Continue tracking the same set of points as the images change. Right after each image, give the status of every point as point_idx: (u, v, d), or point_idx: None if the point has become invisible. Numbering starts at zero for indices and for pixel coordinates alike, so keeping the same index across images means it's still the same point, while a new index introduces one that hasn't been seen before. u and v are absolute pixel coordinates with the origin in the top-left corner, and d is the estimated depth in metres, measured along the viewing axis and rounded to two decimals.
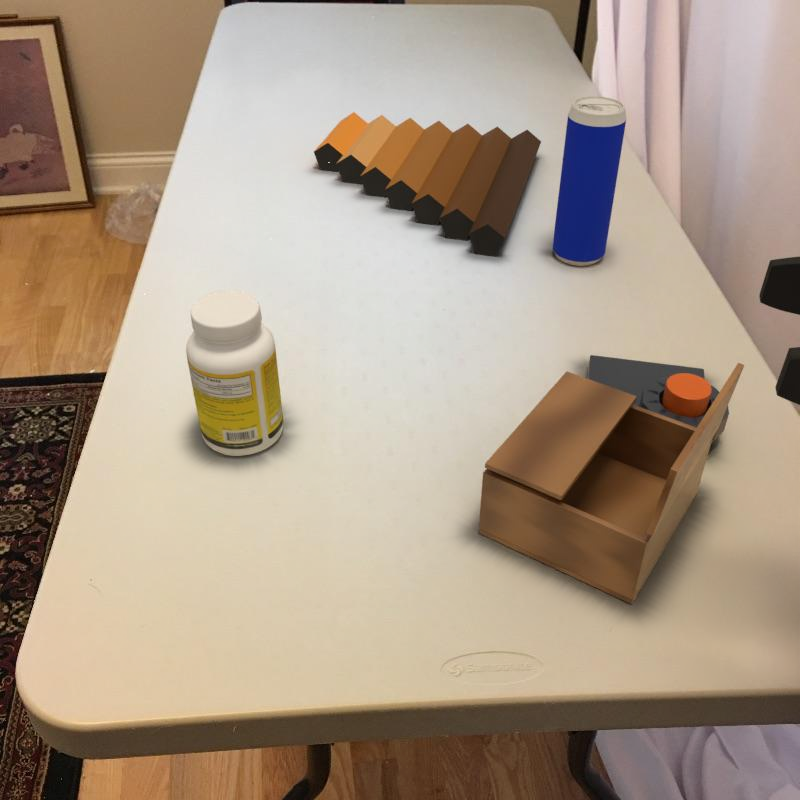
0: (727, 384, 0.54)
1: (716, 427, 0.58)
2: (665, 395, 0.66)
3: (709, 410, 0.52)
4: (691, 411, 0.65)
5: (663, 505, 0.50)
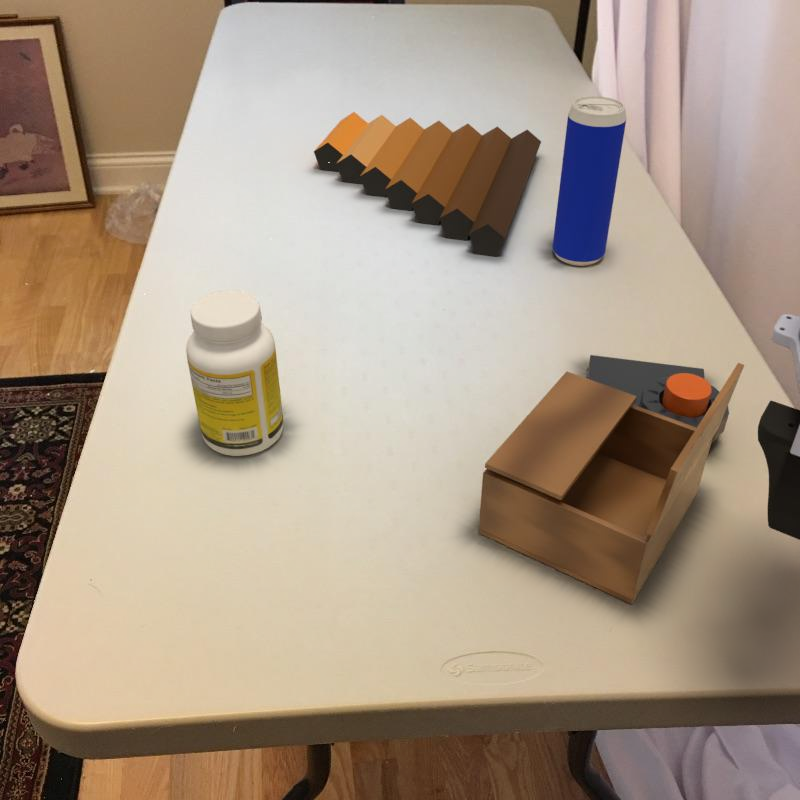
0: (727, 384, 0.54)
1: (716, 427, 0.58)
2: (665, 395, 0.66)
3: (709, 410, 0.52)
4: (691, 411, 0.65)
5: (663, 505, 0.50)
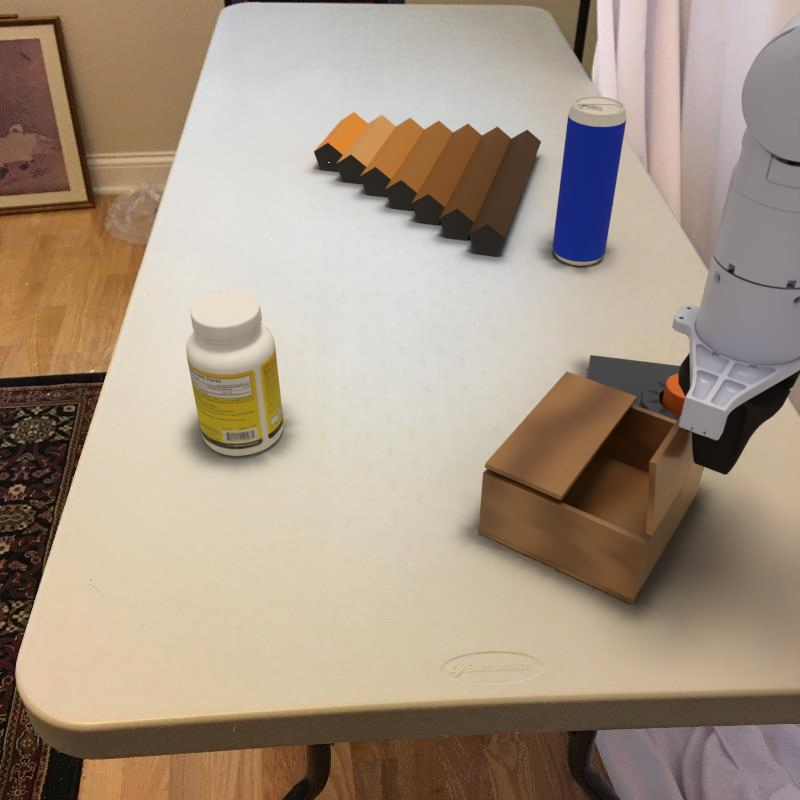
0: None
1: None
2: (665, 395, 0.66)
3: None
4: None
5: (653, 501, 0.50)
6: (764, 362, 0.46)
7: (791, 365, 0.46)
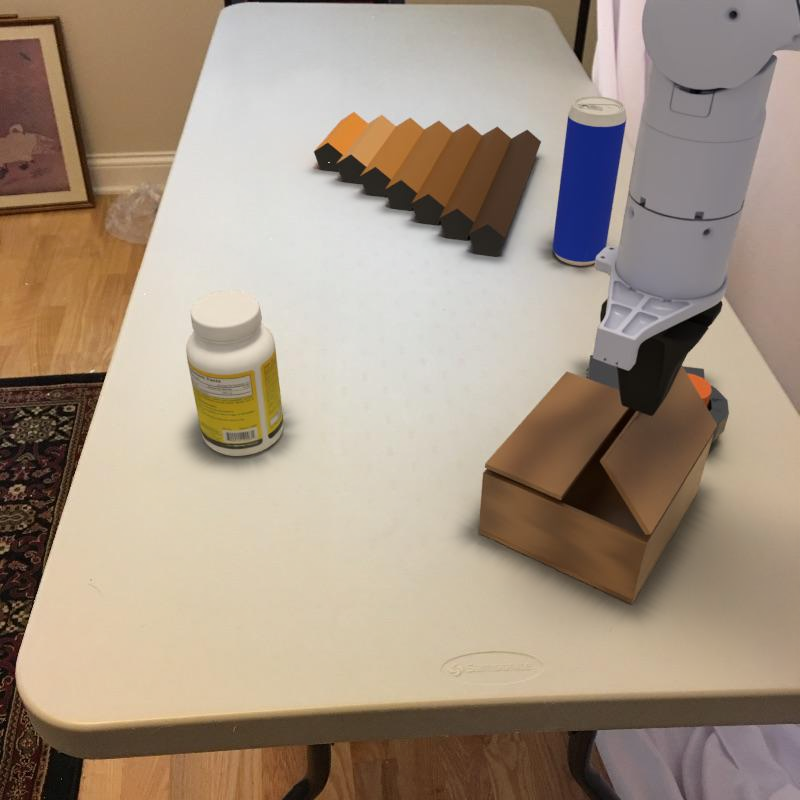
0: None
1: (702, 424, 0.58)
2: None
3: None
4: None
5: (628, 498, 0.51)
6: (678, 296, 0.46)
7: (705, 299, 0.47)
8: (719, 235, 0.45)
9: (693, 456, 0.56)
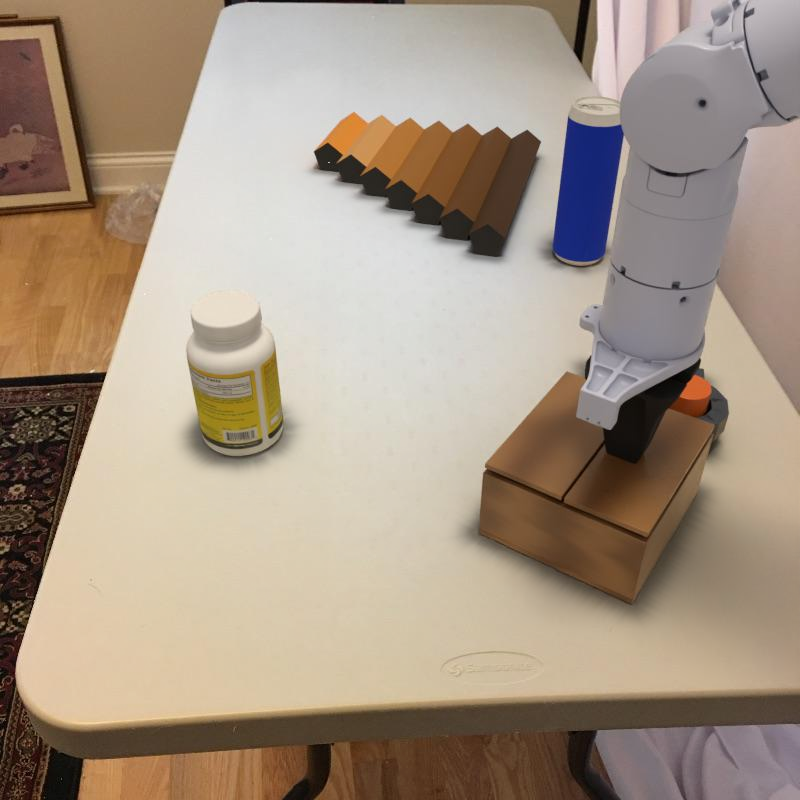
0: None
1: (692, 430, 0.59)
2: None
3: (604, 446, 0.58)
4: (691, 411, 0.65)
5: (606, 516, 0.53)
6: (657, 357, 0.49)
7: (683, 360, 0.49)
8: (695, 302, 0.47)
9: (688, 457, 0.57)
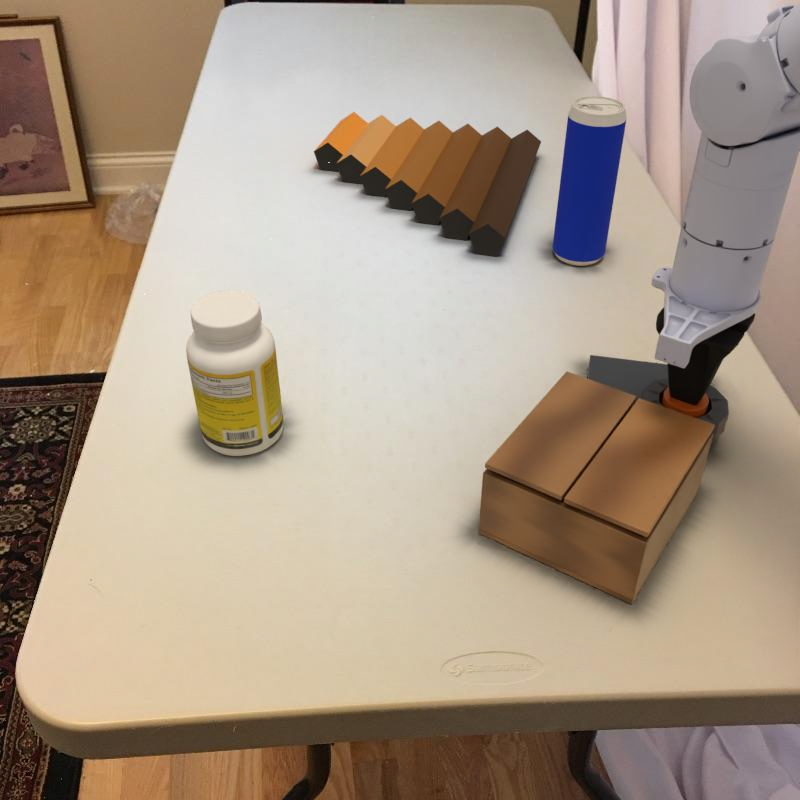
0: None
1: (692, 430, 0.59)
2: (663, 406, 0.67)
3: None
4: None
5: (606, 516, 0.53)
6: (722, 309, 0.58)
7: (743, 311, 0.58)
8: (756, 261, 0.56)
9: (688, 457, 0.57)
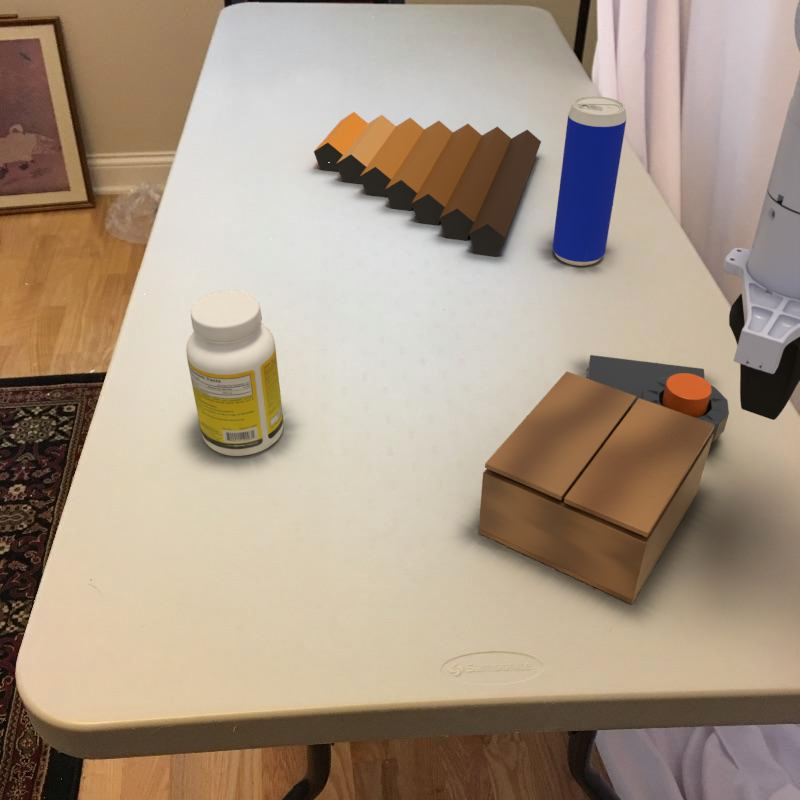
0: None
1: (692, 430, 0.59)
2: (665, 395, 0.66)
3: None
4: (691, 411, 0.65)
5: (606, 516, 0.53)
6: None
7: None
8: None
9: (688, 457, 0.57)
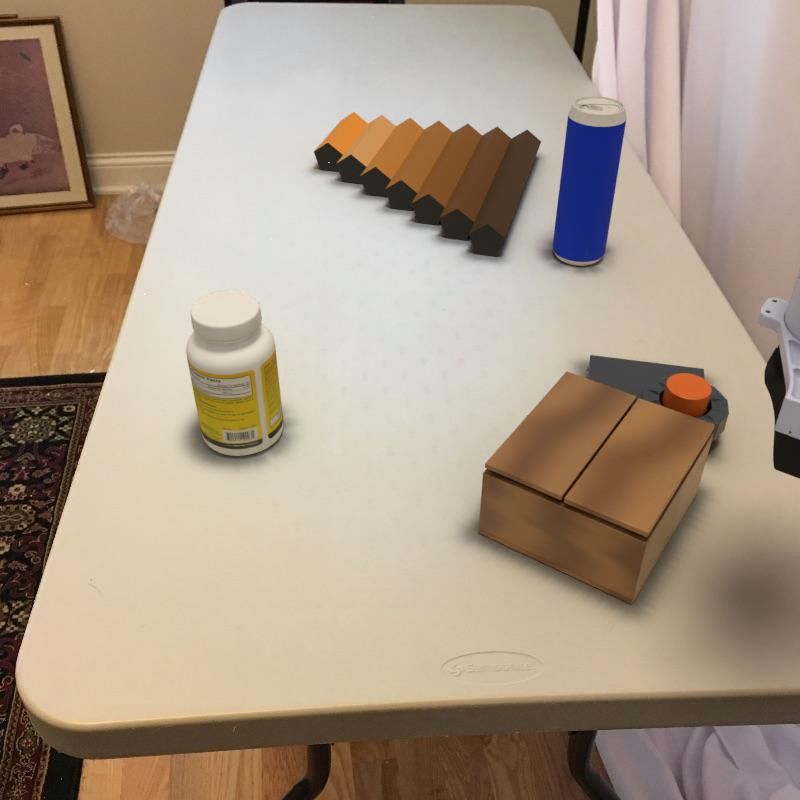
0: None
1: (692, 430, 0.59)
2: (665, 395, 0.66)
3: None
4: (691, 411, 0.65)
5: (606, 516, 0.53)
6: None
7: None
8: None
9: (688, 457, 0.57)
